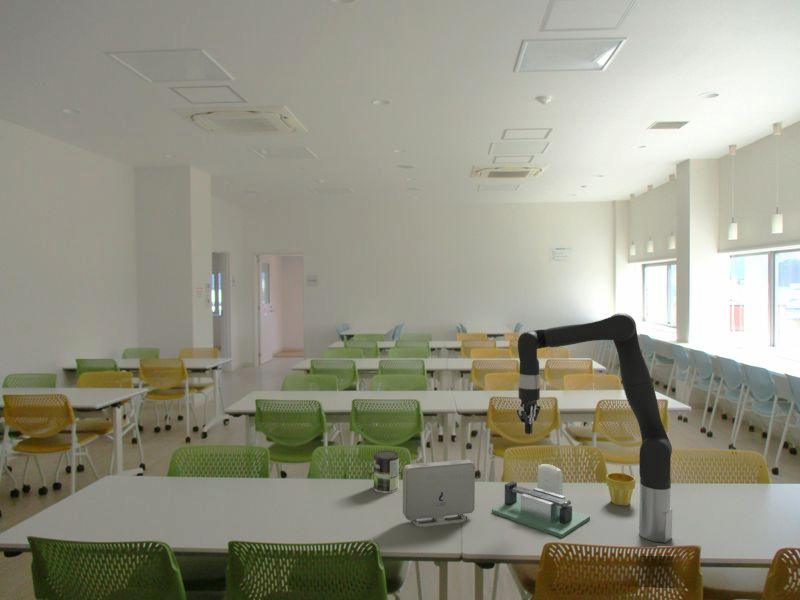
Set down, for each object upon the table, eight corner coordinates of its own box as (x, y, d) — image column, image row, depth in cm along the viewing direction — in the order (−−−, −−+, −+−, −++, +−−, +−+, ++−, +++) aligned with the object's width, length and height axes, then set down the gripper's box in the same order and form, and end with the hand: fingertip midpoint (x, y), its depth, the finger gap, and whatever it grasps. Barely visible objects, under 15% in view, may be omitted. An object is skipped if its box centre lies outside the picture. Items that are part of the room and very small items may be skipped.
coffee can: (377, 494, 220) (377, 459, 219) (370, 485, 230) (370, 451, 229) (402, 491, 223) (402, 456, 222) (394, 482, 233) (394, 449, 232)
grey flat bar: (570, 505, 194) (571, 501, 194) (564, 508, 191) (564, 504, 191) (518, 488, 209) (518, 485, 209) (512, 492, 206) (512, 488, 206)
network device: (407, 528, 190) (407, 470, 189) (400, 518, 198) (400, 462, 197) (476, 520, 196) (477, 464, 196) (467, 510, 205) (467, 456, 204)
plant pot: (607, 506, 209) (607, 480, 209) (604, 495, 219) (604, 471, 219) (637, 509, 207) (637, 483, 207) (632, 498, 217) (632, 473, 217)
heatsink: (575, 517, 196) (575, 497, 196) (561, 526, 189) (561, 505, 189) (515, 498, 213) (515, 479, 213) (500, 505, 206) (500, 486, 206)
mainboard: (589, 519, 198) (590, 516, 197) (561, 537, 183) (561, 534, 183) (521, 497, 217) (521, 494, 217) (491, 512, 203) (491, 509, 203)
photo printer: (535, 493, 221) (535, 463, 221) (542, 491, 224) (542, 460, 224) (557, 501, 213) (558, 469, 213) (564, 499, 216) (564, 467, 216)
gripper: (528, 390, 195) (527, 439, 196) (547, 385, 205) (547, 432, 205) (510, 387, 200) (509, 435, 201) (529, 382, 210) (529, 428, 210)
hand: (528, 433), depth 203 cm, fingers closed
